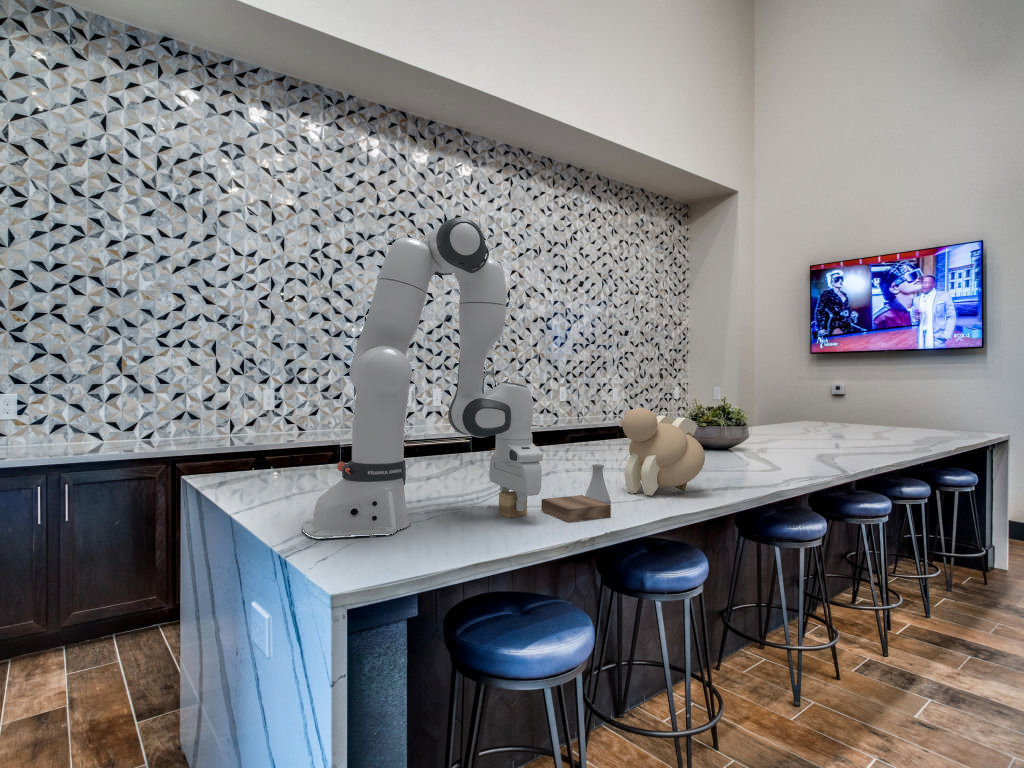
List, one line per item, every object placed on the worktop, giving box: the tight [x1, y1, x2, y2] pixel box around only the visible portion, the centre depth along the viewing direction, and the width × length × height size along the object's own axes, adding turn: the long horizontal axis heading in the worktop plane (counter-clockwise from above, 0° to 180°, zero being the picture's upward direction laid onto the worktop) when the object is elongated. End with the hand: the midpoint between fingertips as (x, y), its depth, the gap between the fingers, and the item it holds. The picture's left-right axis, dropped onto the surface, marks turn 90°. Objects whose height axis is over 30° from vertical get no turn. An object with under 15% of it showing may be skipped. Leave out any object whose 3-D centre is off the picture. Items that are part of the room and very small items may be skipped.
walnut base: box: [541, 494, 612, 523], centre depth 141 cm, size 12×12×3 cm
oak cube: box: [498, 490, 528, 519], centre depth 139 cm, size 5×5×5 cm
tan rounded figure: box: [617, 407, 706, 496], centre depth 169 cm, size 30×28×23 cm
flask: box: [584, 463, 612, 504], centre depth 154 cm, size 7×7×10 cm
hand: (512, 507), depth 139 cm, fingers closed on oak cube, 5 cm apart
